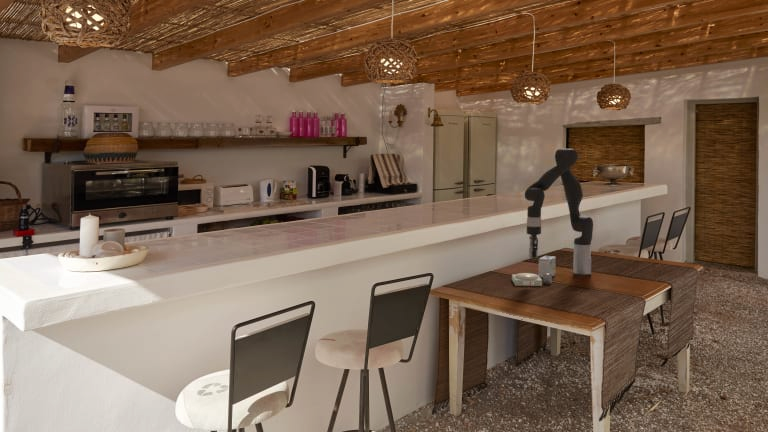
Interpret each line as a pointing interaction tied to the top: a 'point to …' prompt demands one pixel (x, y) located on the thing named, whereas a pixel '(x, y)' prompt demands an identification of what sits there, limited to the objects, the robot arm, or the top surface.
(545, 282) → the spacer
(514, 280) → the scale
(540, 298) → the top surface
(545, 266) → the light bulb box
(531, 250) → the spacer
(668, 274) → the top surface
